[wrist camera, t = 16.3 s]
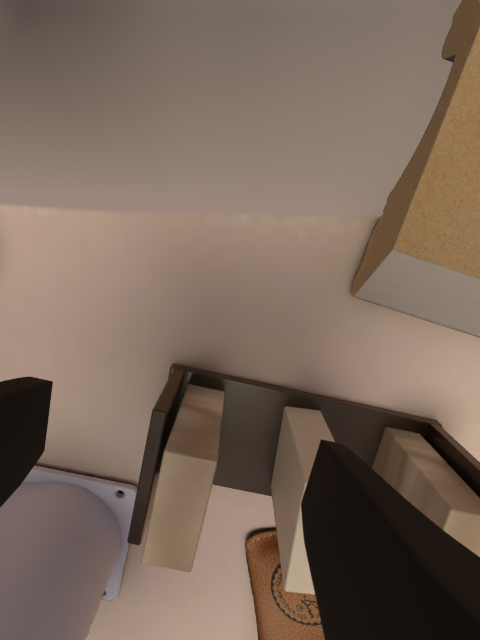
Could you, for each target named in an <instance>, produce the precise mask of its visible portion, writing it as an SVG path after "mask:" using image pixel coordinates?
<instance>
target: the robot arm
mask: <svg viewBox="0 0 480 640" xmlns="http://www.w3.org/2000/svg"><path fill="white" fill-rule="evenodd" d="M52 384H53V382H52V381H48V380H43V379H38V378H34V377H22V378H16V379H11V380H6V381H2V382H0V640H86V637H87V635H88V632H89V629H90V627H91V624H92V622H93V619H94V616H95V614H96V611H97V609H98V606H99V604H100V601H101V599H104V600H114V599H116V598H117V597H118V595H119V592H120V587H121V582H122V577H123V572H124V567H125V562H126V557H127V552H128V546H129V543H127V539H128V534H129V529H130V524H131V519H132V513H133V508H134V503H135V498H136V493H137V488H136V487H135V486H133V485H130V484H125V483H120V482H115V481H110V480H105V479H100V478H95V477H90V476H85V475H80V474H75V473H70V472H65V471H60V470H55V469H50V468H45V467H40V466H35V464H36V462H37V461H38V459H39V458H40V456H41V455H42V453H43V452H44V449H45V441H46V433H47V425H48V416H49V408H50V400H51V392H52ZM118 491H123V492H124V494H120V493H119V492H118ZM301 512H302V526H303V536H304V544H305V549H306V554H307V559H308V564H309V568H310V573H311V578H312V582H313V587H314V592H315V596H316V601H317V605H318V610H319V615H320V619H321V624H322V628H323V633H324V638H325V640H480V557H479V556H477V555H476V554H475V553H473V552H472V551H471V550H469V549H468V548H466V547H465V546H464V545H462V544H461V543H460V542H458V541H457V540H455V539H454V538H453V537H452V536H450V535H449V534H448V533H446V532H445V531H444V530H443V529H441V528H440V527H439V526H438V525H436V524H435V523H434V522H433V521H431V520H430V519H429V518H428V517H427V516H425V515H424V514H423V513H422V512H421V511H419V510H418V509H417V508H416V507H415V506H413V505H412V504H411V503H410V502H409V501H408V500H406V499H405V498H404V497H403V496H402V495H401V494H400V493H398V492H397V491H396V490H395V489H394V488H393V487H392V486H391V485H390V484H388V483H387V482H386V481H385V480H384V479H383V478H382V477H381V476H380V475H379V474H377V473H376V472H375V471H374V470H373V469H372V468H371V467H370V466H369V465H368V464H367V463H365V462H364V461H363V460H362V459H361V458H360V457H359V456H358V455H356V454H355V453H354V452H353V451H352V450H350V449H349V448H348V447H347V446H345V445H344V444H341V443H336V442H331V441H327V440H322V439H321V441H320V444H319V447H318V450H317V454H316V457H315V460H314V463H313V466H312V470H311V473H310V476H309V479H308V483H307V486H306V489H305V492H304V496H303V499H302V502H301Z"/></svg>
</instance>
